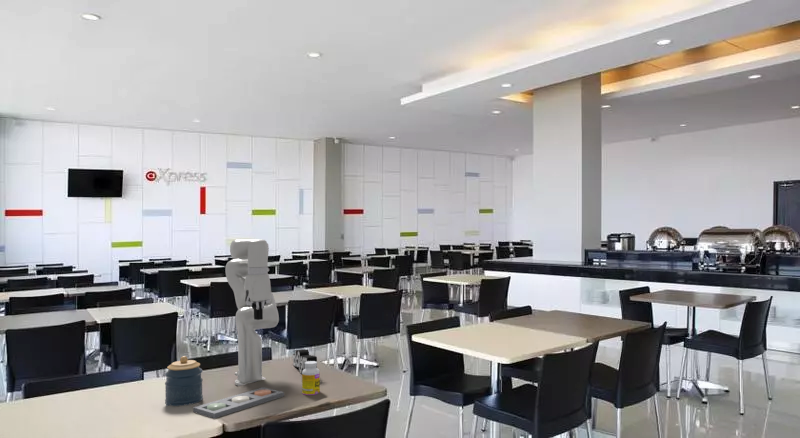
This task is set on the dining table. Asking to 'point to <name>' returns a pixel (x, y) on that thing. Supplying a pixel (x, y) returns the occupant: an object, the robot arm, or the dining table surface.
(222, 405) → the button sage
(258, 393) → the button terracotta
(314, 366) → the supplement bottle
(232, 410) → the button panel
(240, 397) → the button cream
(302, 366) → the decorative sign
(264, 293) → the robot arm
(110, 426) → the dining table surface
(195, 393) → the canister
